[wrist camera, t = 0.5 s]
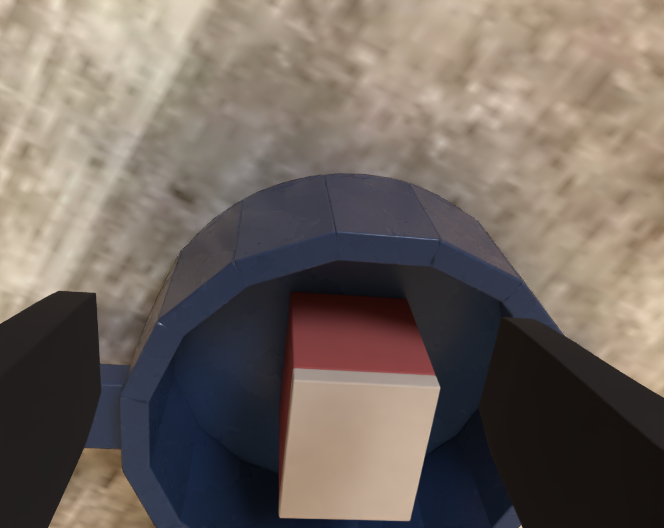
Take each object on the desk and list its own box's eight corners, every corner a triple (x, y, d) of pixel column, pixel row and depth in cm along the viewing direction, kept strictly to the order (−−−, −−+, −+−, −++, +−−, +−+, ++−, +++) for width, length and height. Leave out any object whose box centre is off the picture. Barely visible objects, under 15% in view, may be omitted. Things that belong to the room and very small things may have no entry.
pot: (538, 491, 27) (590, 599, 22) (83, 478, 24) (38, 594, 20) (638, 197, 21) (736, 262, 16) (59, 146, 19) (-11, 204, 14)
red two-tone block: (385, 414, 24) (410, 521, 19) (278, 410, 23) (278, 518, 19) (407, 298, 21) (441, 387, 17) (290, 290, 21) (293, 380, 16)
